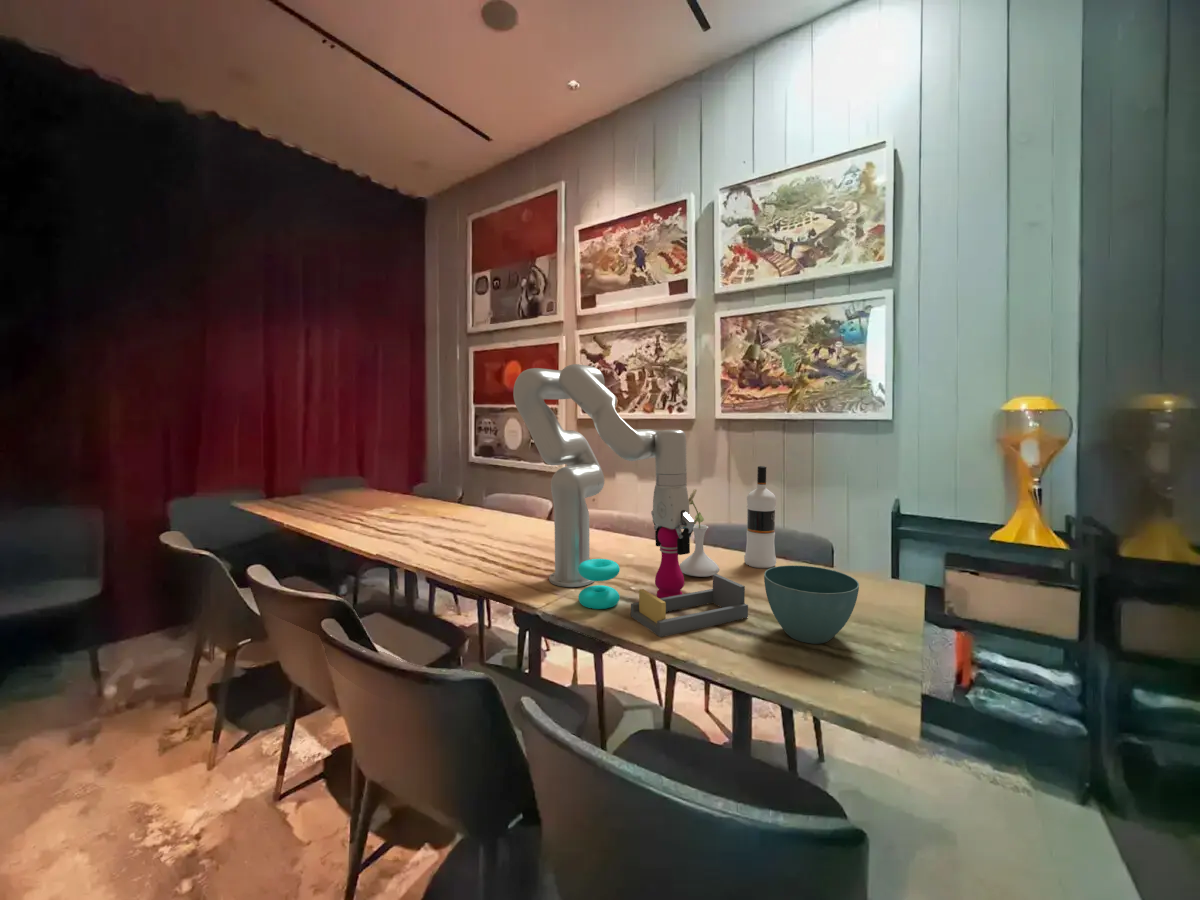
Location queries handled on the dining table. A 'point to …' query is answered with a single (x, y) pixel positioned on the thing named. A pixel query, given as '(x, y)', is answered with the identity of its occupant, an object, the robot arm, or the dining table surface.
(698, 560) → the flower in vase
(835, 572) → the teal bowl
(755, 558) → the vodka
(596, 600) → the donuts
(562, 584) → the robot arm
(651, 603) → the pusher plate
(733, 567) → the dining table surface
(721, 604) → the lane
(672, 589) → the pepper mill
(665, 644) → the dining table surface
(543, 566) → the dining table surface
